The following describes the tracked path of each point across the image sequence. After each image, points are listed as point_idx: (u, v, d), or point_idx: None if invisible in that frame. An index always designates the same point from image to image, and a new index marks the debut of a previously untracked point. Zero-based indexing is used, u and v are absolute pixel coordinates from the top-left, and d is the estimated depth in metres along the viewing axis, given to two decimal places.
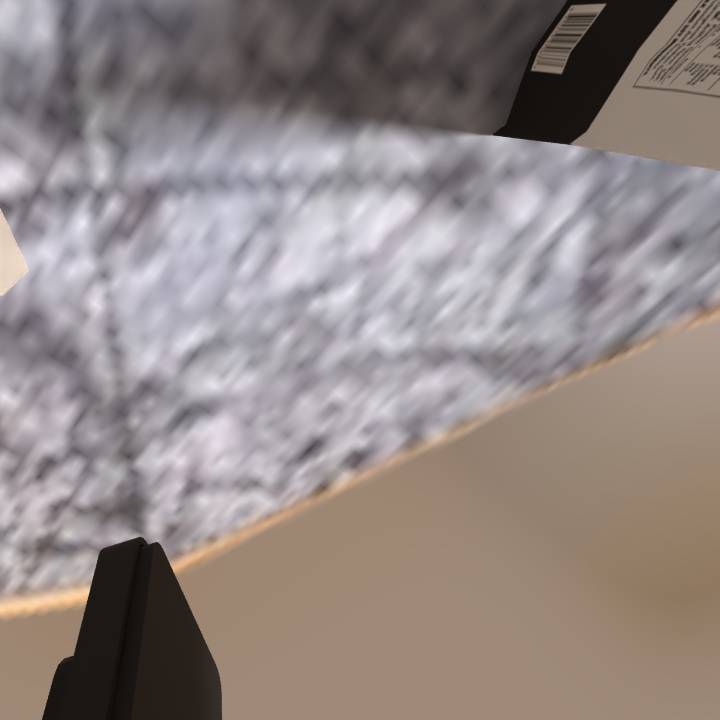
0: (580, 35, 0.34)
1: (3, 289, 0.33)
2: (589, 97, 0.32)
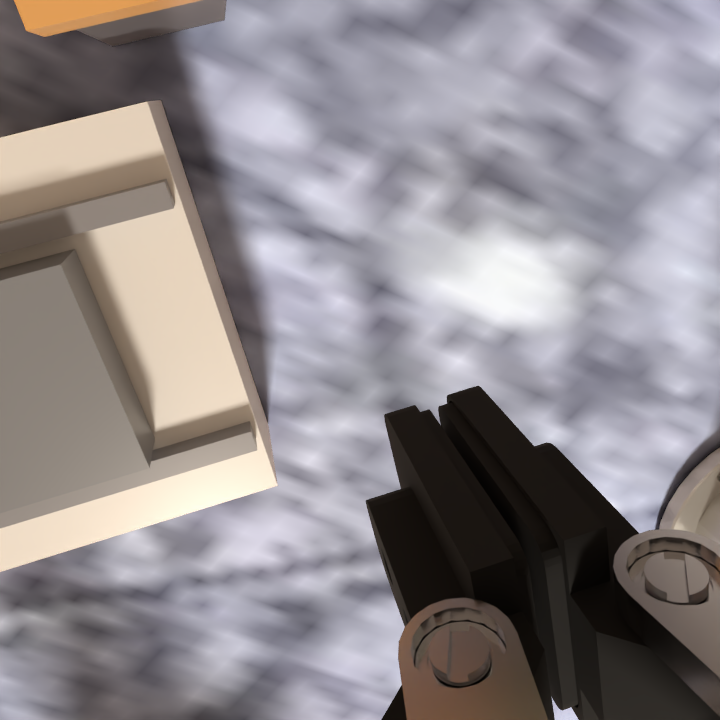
0: None
1: None
2: None
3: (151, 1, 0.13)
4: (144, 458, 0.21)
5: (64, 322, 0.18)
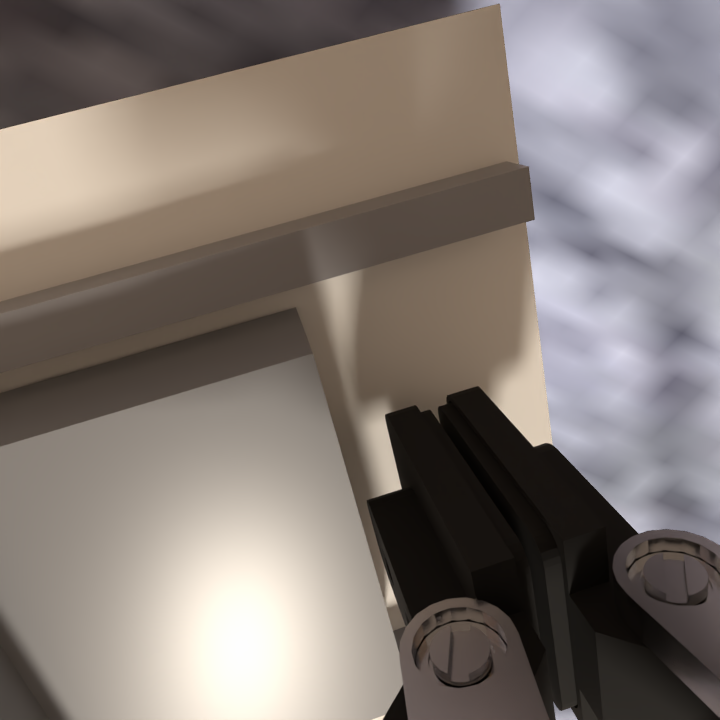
0: None
1: None
2: None
3: None
4: None
5: (303, 466, 0.09)
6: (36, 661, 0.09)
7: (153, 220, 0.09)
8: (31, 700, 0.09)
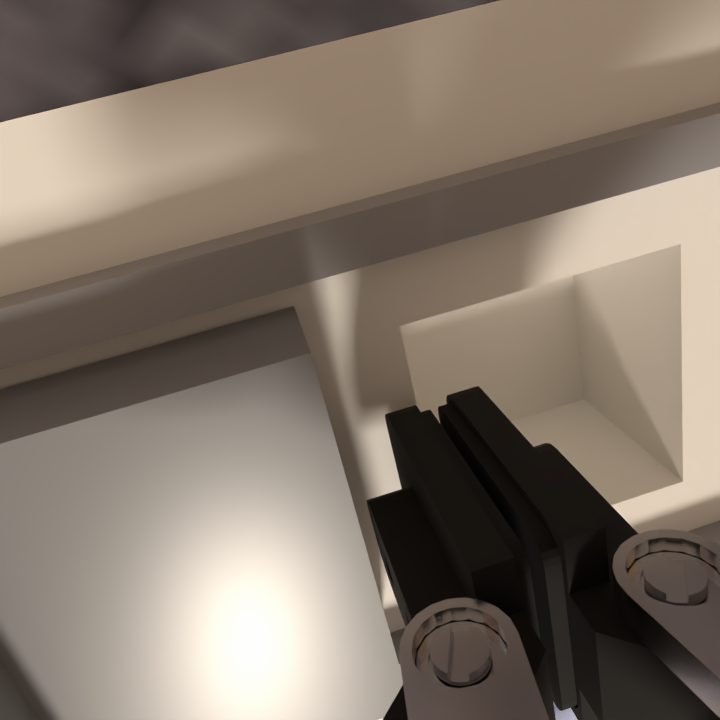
0: None
1: None
2: None
3: None
4: None
5: (301, 467, 0.09)
6: (28, 665, 0.09)
7: (604, 96, 0.10)
8: (23, 703, 0.09)
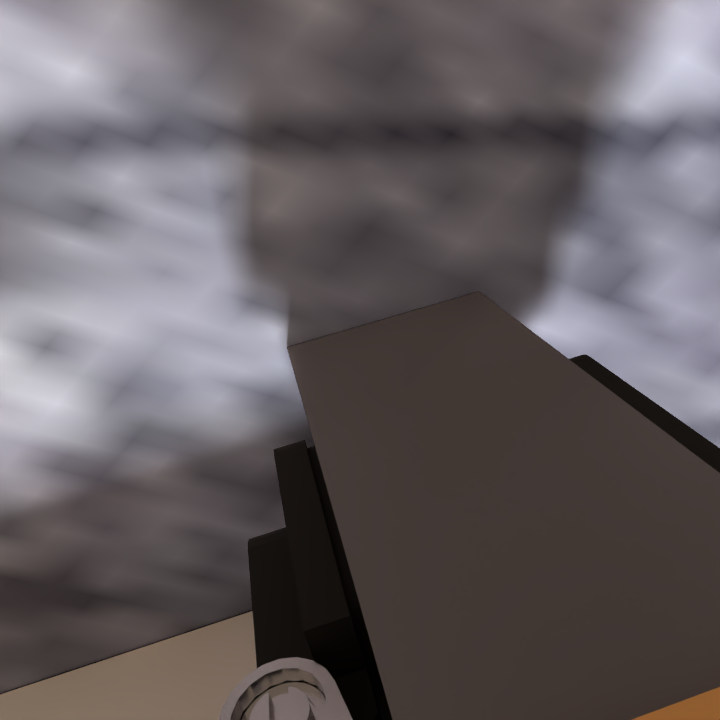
0: None
1: None
2: None
3: None
4: None
5: None
6: None
7: None
8: None
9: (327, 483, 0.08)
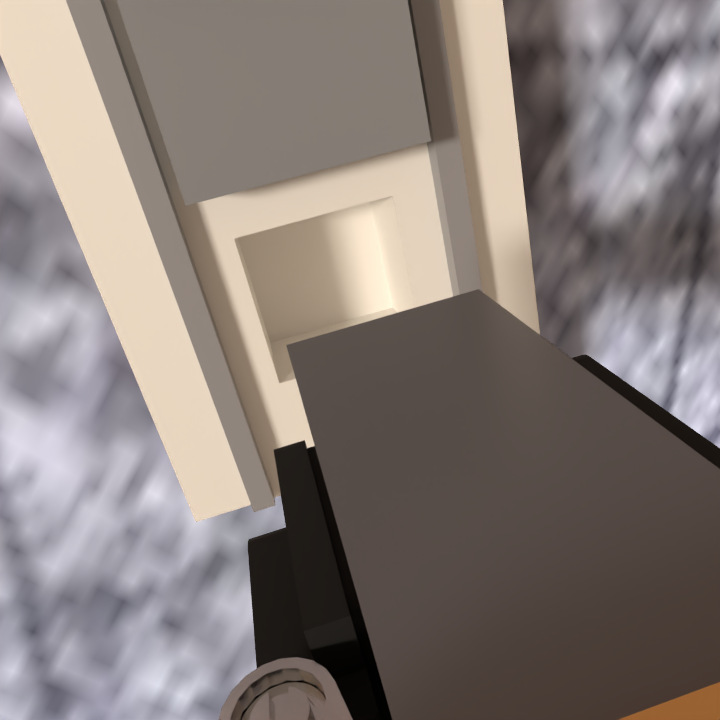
0: None
1: None
2: None
3: None
4: (199, 200, 0.17)
5: (371, 134, 0.17)
6: None
7: (489, 286, 0.22)
8: None
9: (326, 480, 0.08)
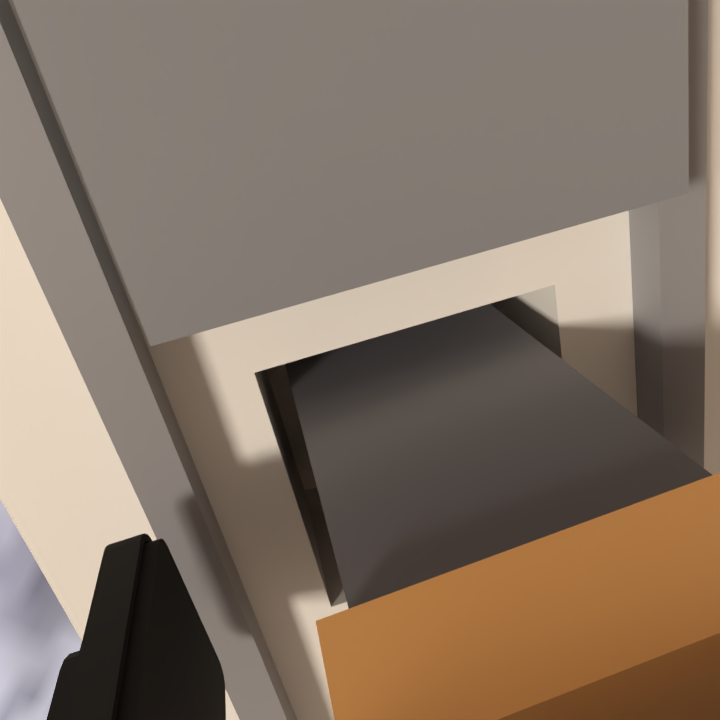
0: None
1: None
2: None
3: None
4: (182, 334, 0.08)
5: (568, 182, 0.08)
6: None
7: None
8: None
9: (301, 423, 0.10)
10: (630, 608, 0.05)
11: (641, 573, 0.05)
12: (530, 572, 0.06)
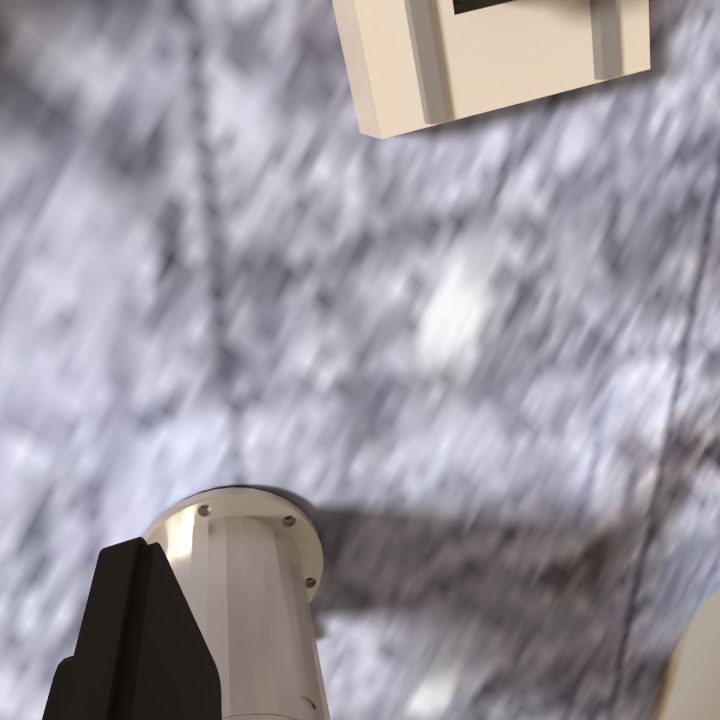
0: None
1: None
2: None
3: None
4: None
5: None
6: None
7: None
8: None
9: None
10: None
11: None
12: None
